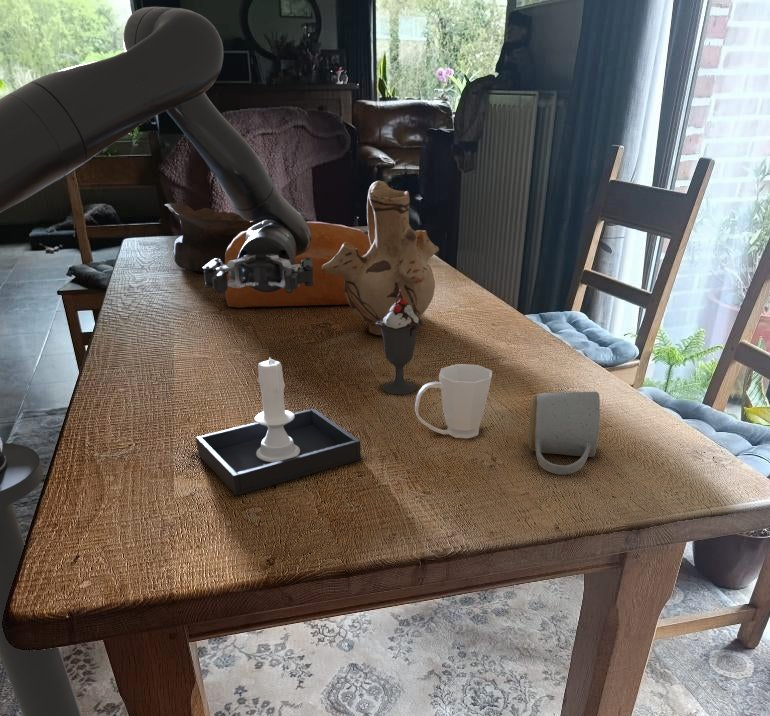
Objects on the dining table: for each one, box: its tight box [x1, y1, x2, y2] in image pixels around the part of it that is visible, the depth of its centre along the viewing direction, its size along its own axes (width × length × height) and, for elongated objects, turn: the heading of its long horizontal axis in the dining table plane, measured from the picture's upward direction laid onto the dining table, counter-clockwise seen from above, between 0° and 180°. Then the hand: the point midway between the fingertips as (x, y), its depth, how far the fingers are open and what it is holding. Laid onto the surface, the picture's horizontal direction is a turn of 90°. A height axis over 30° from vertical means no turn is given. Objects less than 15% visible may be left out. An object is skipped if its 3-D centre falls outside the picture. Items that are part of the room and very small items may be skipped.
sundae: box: [376, 290, 424, 395], centre depth 102 cm, size 7×7×15 cm
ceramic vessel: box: [322, 180, 440, 337], centre depth 126 cm, size 18×19×25 cm
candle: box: [254, 356, 300, 462], centre depth 84 cm, size 5×5×12 cm
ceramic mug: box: [527, 391, 601, 476], centre depth 84 cm, size 11×8×8 cm
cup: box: [414, 363, 493, 439], centre depth 90 cm, size 7×10×8 cm
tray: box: [195, 408, 362, 497], centre depth 86 cm, size 16×12×2 cm
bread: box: [224, 221, 371, 309], centre depth 148 cm, size 14×33×16 cm, turn 94°
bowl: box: [163, 202, 301, 273], centre depth 179 cm, size 34×33×15 cm
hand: (254, 285), depth 89 cm, fingers open, 8 cm apart
